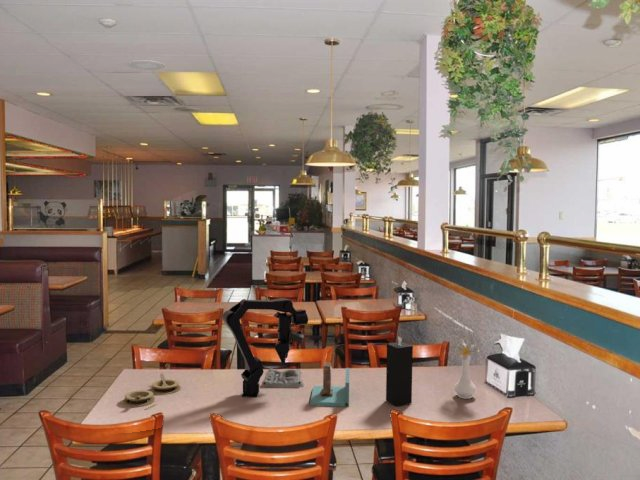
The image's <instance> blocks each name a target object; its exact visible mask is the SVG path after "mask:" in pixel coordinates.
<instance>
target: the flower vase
mask: <svg viewBox="0 0 640 480" xmlns="http://www.w3.org/2000/svg"><path fill="white" fill-rule="evenodd" d="M449 350H451V351H450V353H449V354H450V356H451V359H453V358H454V357H455V356H461V361H462V362H461V363H462V364H461V375H460V378H459V380H458V381H457V382H456V383H455V384H454V386H453V387H454V388H453V391H454V392H455V393H456V394H457V397H458V398H461V399H465V400H469V399H471V398H473V396H474V395H475V394H476V392H477V388H476V385H475V384H474V383H473V381H472V379H471V376H470V361H471V357H472V356H473V355H474V354H476V355H477V356H478V357H479V358H483V357H482V354H481V353H480V352H481V351H480V347H479V345H478V344H477V341H474V344H472V341H471V340H470V339H468V340H467V341H466V343H465V340H464V339H463V338H460V339H459V340H458V339H456V338H455V340H454V342H453V343H452V345H451V346H450V347H449Z"/></svg>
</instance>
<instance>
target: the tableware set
mask: <svg viewBox="0 0 640 480" xmlns="http://www.w3.org/2000/svg"><path fill="white" fill-rule="evenodd" d="M159 376H160V380H156V381H154V382H153V383H152V384H151V386H152V387H151V388H150V389H149V390H143V389H140V390H132V391H129V392H127V393H126V394H124V399H123V400H121V404H122V405H123V406H124V407H128V408H141V407H146V406H148V407H146V408H144V409H143V411H147V410H149V409H151V408H153V407H156V406H157V405H158V404H157V403H156V404H153V403H154V402H156V397H155V396H154V395H170V394H175V393H177V392H179V391H181V389H182V386H181V385H179V384H180V383H179V381H178V380H176V379H165V374H164V373H162V372H161V373H160V375H159ZM151 404H153V405H151ZM149 405H150V406H149Z"/></svg>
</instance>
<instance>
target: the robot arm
mask: <svg viewBox="0 0 640 480" xmlns="http://www.w3.org/2000/svg"><path fill="white" fill-rule="evenodd" d="M248 310H266V311H267V310H270V311H271V310H273V311H276V313H274V315H273V317H275V318H276V319H278V322H277V323H278V327H277V328H278V329H277V333H278V336H277V342H276V343H275V347H274V350H275V352H276V354H277V355H278V358H279V359H280V360H279V361H280V362H281V365H285V364H286V359H288V356H289V353H290V350H291V345H293V343H297V344H298V345H302V342H303V339H304V338H305V335H304V334H303V331H302V330H300V329H298V330H297V331H294V330H293V328H292V324H293V326H296V327H297V326H304V325H308V323H309V317H308V314H307V310H306V309H300V310H296V309H295V307H294V302H292V300H290V299H288V298H285V297H279V298H275V299H270V300H269V299H267V300H266V299H245V298H244V299H241V300H240V301H239V302H237V304H235V305H233V306H232V307H230V309H229V310H228V309H227V310H225V311H224V312H223V313H222V316H221V320H222V322H223V323H224V324H225V326H226V327H227V328H228V329H229V331H230V332H231V334H232V336H233V339H234V340H235V342H236V345H237V346H238V349H239V351H240V352H241V355H242V357H243V361H244V367H245V369H244V371H243V372H242V373H241V374H240V375H241V377H242V379H243V380H242V394H241V397H242V398H245V397H246V398H247V397H248V398H257V397H258V395H259V394H260V383H259V382H260V380H261V377H262V376H263V374H264V368H265V367H264V366H263V364H262V361H261V359H259V358H258V357H257V356H254V354H253V352H252V350H251V348H250V345H249V343H248V341H247V340H246V337H245V335H244V332H243V331H242V325H241V319H243V317H244V316H245V314H246V313H247V311H248Z"/></svg>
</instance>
